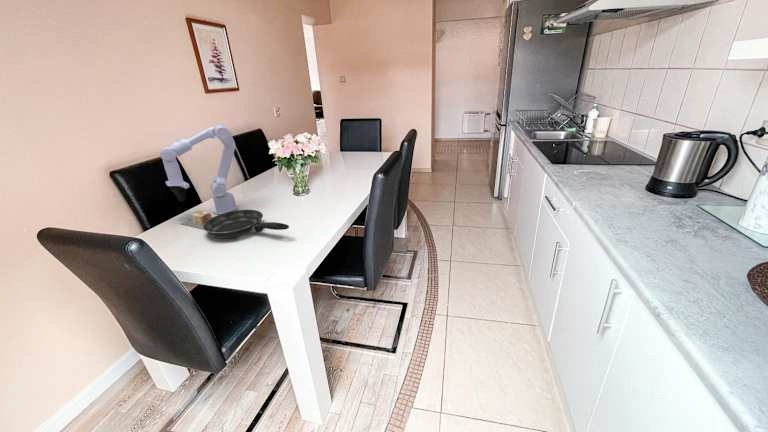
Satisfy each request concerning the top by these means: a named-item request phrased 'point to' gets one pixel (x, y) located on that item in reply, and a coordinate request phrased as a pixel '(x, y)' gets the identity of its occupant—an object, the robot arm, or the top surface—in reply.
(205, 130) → the robot arm
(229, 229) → the frying pan
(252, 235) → the top surface
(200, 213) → the oak block
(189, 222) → the grey rubber mat
